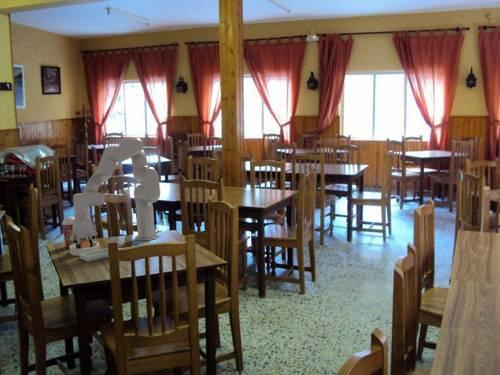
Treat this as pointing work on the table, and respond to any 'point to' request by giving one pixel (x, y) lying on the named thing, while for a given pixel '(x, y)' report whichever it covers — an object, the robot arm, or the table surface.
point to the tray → (94, 255)
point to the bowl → (84, 250)
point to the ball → (84, 244)
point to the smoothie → (68, 230)
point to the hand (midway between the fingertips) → (84, 249)
